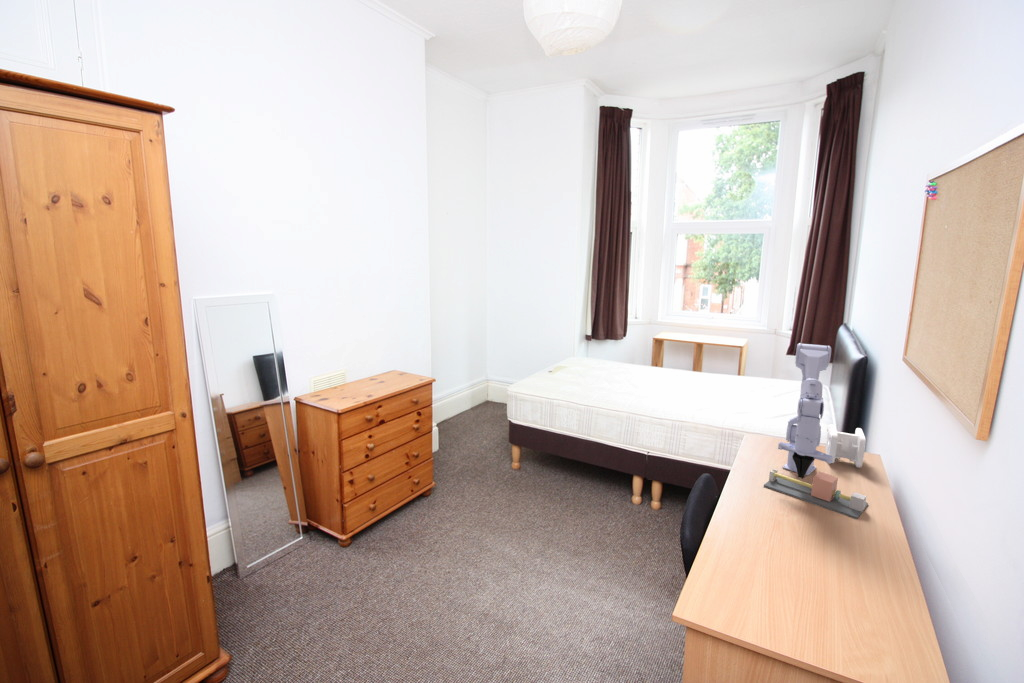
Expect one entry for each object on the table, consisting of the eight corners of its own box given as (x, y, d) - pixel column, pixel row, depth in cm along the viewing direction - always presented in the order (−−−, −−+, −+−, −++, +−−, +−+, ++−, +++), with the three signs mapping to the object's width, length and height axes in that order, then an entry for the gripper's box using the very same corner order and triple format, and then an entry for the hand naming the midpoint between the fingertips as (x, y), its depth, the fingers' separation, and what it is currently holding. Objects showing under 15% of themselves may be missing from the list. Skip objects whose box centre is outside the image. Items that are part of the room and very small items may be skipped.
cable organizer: (862, 472, 161) (867, 440, 158) (825, 465, 166) (830, 434, 164) (857, 456, 173) (861, 427, 171) (823, 450, 179) (827, 421, 176)
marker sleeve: (816, 489, 146) (819, 471, 145) (835, 495, 142) (838, 477, 141) (810, 495, 142) (813, 476, 141) (829, 501, 139) (832, 482, 138)
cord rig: (777, 475, 158) (778, 463, 157) (867, 504, 139) (870, 491, 138) (763, 486, 150) (764, 473, 149) (857, 519, 131) (859, 504, 130)
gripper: (776, 432, 147) (771, 472, 149) (830, 446, 136) (823, 489, 139) (784, 427, 151) (780, 466, 154) (837, 440, 141) (831, 482, 143)
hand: (801, 476), depth 146 cm, fingers closed
